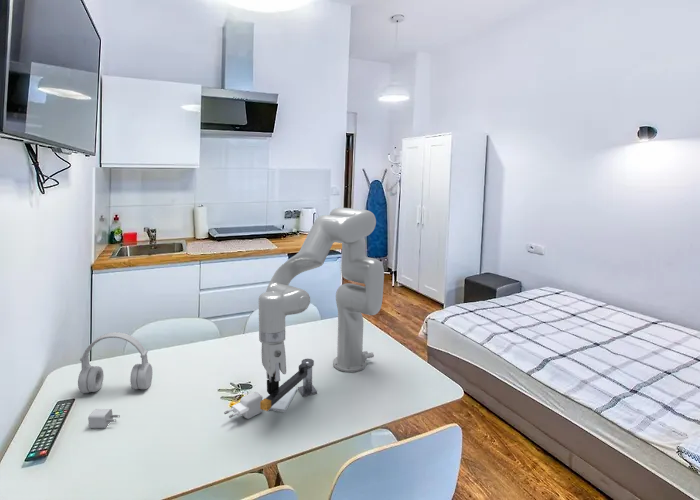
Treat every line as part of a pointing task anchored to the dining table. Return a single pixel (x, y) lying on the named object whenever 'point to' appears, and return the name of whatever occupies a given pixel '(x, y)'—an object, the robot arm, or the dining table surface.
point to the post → (307, 385)
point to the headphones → (93, 375)
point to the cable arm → (287, 385)
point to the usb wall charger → (101, 418)
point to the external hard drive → (284, 401)
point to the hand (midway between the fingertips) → (272, 392)
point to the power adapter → (247, 406)
